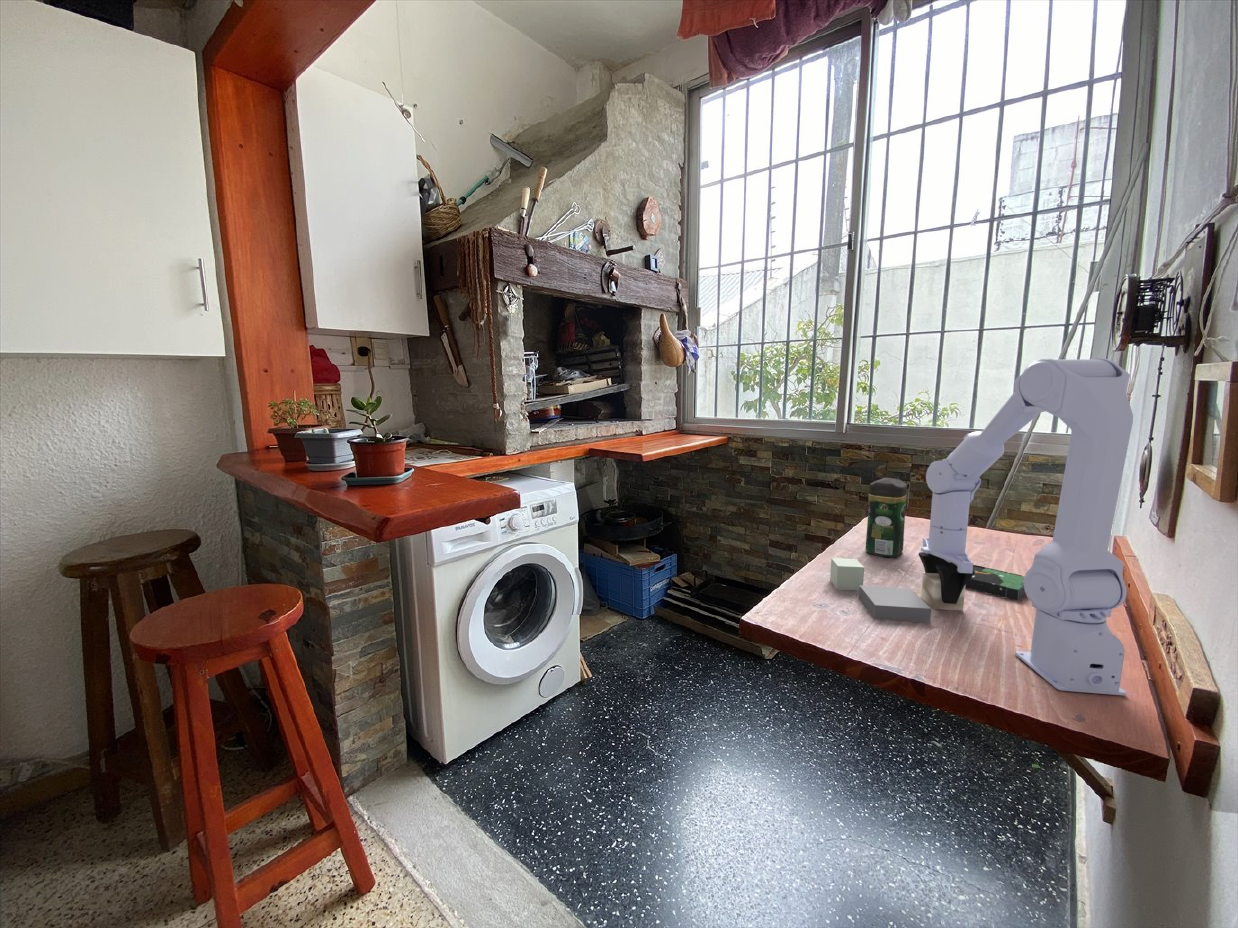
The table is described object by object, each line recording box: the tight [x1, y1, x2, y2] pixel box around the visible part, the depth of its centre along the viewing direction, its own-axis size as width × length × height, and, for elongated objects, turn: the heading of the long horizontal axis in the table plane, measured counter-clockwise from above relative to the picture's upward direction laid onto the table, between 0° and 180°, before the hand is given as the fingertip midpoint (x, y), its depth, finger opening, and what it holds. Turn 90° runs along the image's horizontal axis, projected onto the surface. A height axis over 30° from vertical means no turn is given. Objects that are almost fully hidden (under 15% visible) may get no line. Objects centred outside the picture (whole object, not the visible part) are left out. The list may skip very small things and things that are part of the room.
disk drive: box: [965, 564, 1027, 602], centre depth 101 cm, size 10×3×15 cm
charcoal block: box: [858, 584, 932, 624], centre depth 89 cm, size 9×9×3 cm
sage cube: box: [829, 557, 865, 592], centre depth 101 cm, size 5×5×5 cm
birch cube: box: [920, 572, 966, 611], centre depth 91 cm, size 5×5×5 cm
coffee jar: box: [865, 477, 908, 558], centre depth 120 cm, size 10×8×19 cm
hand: (942, 596), depth 92 cm, fingers closed on birch cube, 5 cm apart
